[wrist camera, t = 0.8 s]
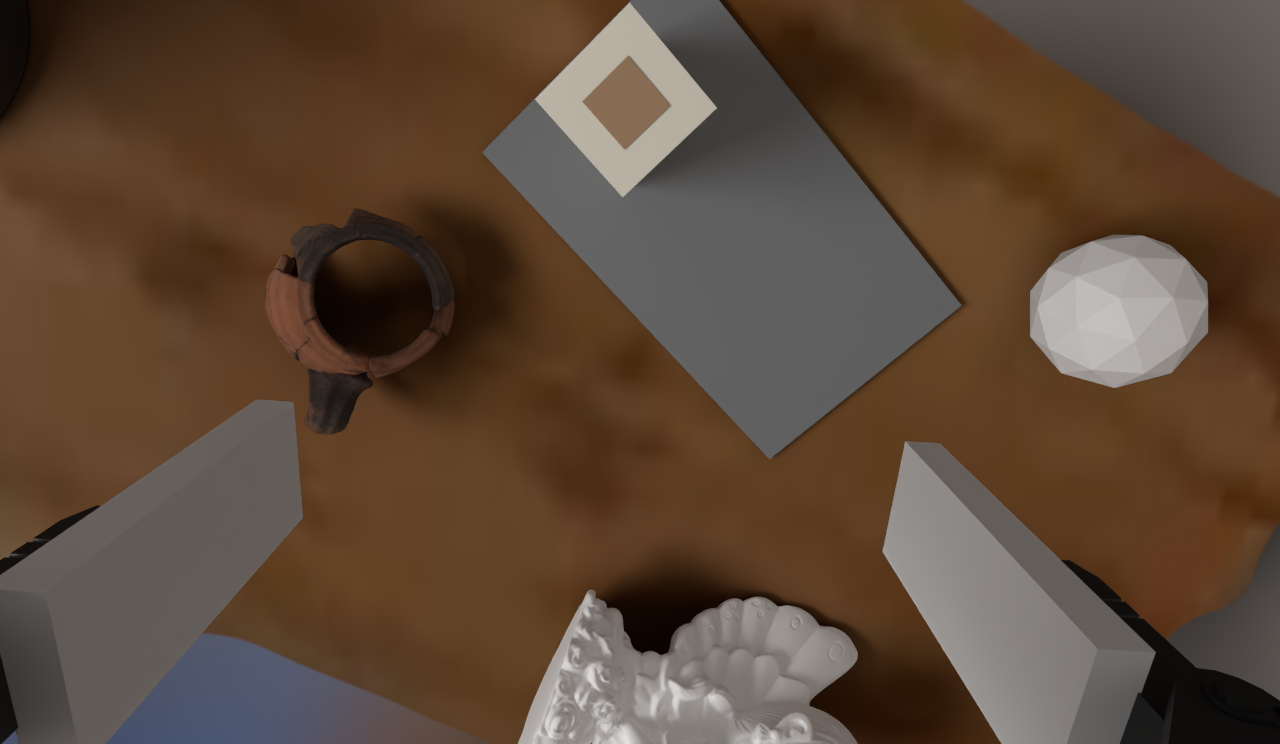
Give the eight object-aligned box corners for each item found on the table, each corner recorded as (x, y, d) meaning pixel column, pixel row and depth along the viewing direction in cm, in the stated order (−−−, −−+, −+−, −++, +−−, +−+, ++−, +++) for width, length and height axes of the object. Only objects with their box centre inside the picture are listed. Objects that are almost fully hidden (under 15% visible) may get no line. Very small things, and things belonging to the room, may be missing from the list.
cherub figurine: (579, 627, 34) (952, 790, 35) (612, 518, 47) (888, 639, 47) (488, 823, 38) (829, 971, 38) (540, 674, 50) (799, 786, 50)
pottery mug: (275, 203, 39) (282, 184, 32) (445, 238, 44) (484, 229, 37) (246, 416, 40) (246, 445, 32) (417, 428, 44) (450, 456, 37)
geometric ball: (1010, 285, 43) (1000, 256, 36) (1166, 232, 39) (1188, 188, 32) (1055, 405, 41) (1054, 400, 34) (1223, 362, 37) (1258, 346, 30)
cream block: (562, 113, 37) (534, 99, 27) (633, 43, 36) (629, 2, 26) (627, 186, 38) (622, 197, 28) (697, 120, 37) (717, 107, 27)
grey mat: (483, 152, 38) (482, 152, 37) (679, -48, 35) (679, -50, 35) (768, 456, 43) (769, 459, 43) (958, 304, 40) (961, 305, 40)
